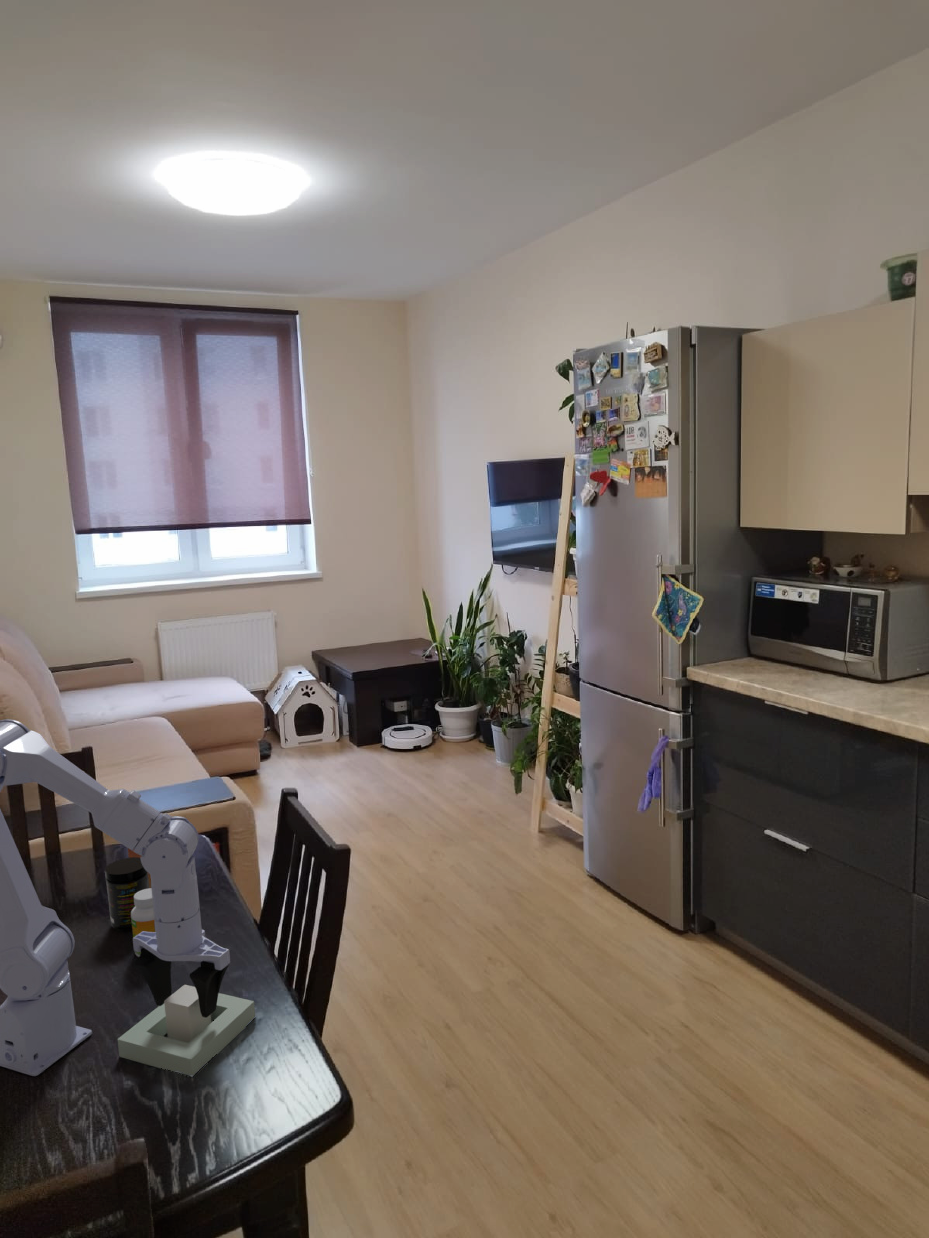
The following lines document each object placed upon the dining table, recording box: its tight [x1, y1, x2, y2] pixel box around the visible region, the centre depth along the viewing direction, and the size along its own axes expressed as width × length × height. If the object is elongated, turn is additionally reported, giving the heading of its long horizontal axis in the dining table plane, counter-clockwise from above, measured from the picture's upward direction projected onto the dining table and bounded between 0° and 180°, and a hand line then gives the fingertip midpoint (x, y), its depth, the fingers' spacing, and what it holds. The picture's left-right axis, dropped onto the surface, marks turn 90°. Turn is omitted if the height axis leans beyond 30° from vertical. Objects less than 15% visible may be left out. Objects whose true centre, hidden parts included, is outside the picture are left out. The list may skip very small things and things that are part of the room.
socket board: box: [116, 992, 256, 1075], centre depth 117 cm, size 13×12×2 cm
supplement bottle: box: [131, 888, 156, 958], centre depth 139 cm, size 5×5×10 cm
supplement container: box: [104, 857, 149, 932], centre depth 148 cm, size 7×7×10 cm
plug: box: [164, 984, 213, 1043], centre depth 117 cm, size 5×4×6 cm
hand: (186, 1007), depth 117 cm, fingers open, 7 cm apart
